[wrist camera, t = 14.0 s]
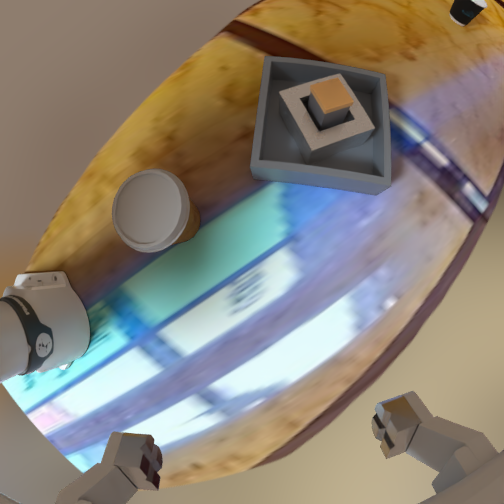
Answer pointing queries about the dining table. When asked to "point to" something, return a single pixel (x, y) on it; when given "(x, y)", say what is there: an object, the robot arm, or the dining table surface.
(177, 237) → the disposable coffee cup
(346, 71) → the walled box
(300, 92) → the inlet socket
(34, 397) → the dining table surface
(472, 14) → the dixie cup
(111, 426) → the dining table surface
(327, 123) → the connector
